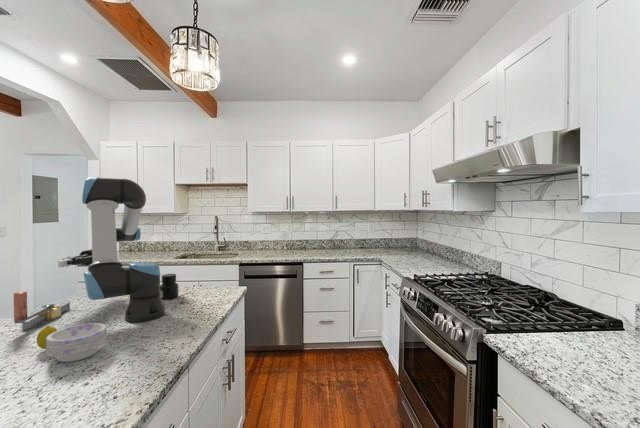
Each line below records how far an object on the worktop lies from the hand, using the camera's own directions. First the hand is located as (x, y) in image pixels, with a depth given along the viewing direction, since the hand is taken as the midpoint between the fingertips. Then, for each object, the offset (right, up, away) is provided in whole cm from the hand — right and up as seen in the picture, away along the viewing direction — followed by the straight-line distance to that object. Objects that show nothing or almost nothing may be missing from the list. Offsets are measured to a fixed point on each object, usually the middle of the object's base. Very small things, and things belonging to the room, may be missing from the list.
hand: (60, 264), depth 129 cm
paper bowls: (+33, -24, -32) cm, 52 cm away
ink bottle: (+32, -23, +30) cm, 49 cm away
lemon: (+21, -24, -28) cm, 43 cm away
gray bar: (-5, -23, 0) cm, 24 cm away
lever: (-3, -19, -8) cm, 21 cm away
